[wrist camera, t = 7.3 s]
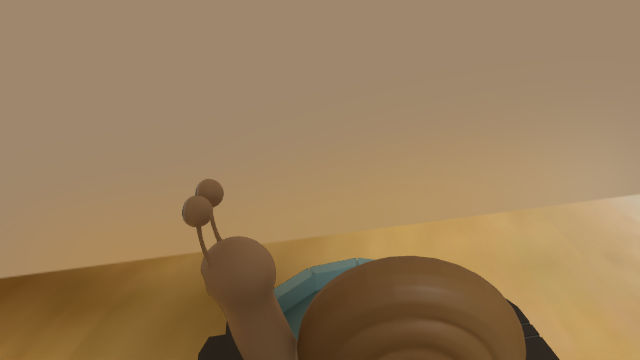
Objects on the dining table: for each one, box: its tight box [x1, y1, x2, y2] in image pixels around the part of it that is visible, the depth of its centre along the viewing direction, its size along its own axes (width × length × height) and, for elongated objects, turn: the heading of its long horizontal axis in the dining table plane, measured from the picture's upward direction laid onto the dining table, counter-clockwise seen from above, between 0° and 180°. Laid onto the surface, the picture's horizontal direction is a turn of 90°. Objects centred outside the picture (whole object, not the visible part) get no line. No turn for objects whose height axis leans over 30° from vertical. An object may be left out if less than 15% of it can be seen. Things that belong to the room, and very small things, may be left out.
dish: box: [274, 258, 373, 340], centre depth 28 cm, size 15×15×2 cm
